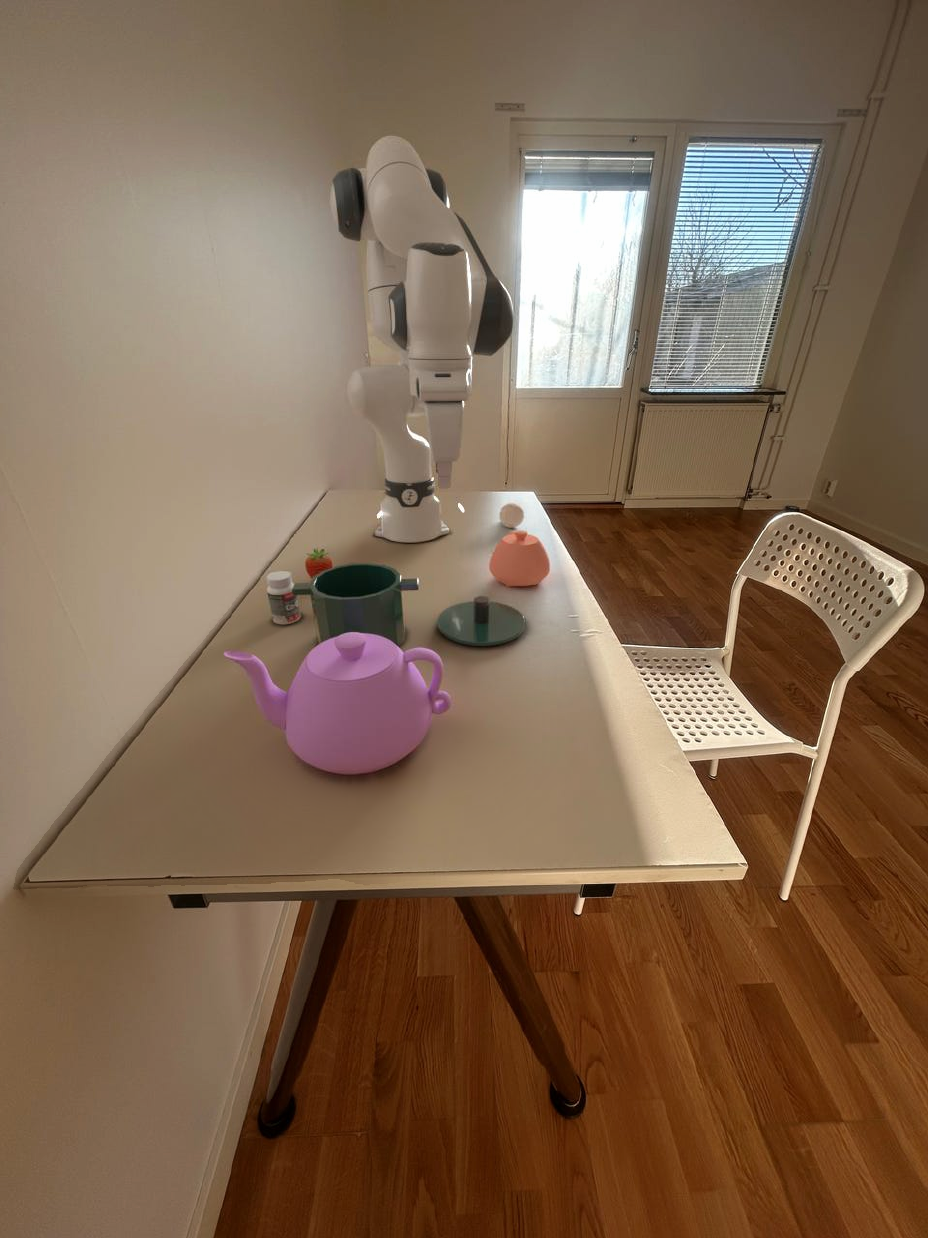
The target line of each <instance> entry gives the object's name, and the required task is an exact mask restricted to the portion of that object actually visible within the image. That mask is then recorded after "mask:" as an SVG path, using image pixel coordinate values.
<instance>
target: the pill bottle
mask: <svg viewBox="0 0 928 1238" xmlns="http://www.w3.org/2000/svg"><path fill="white" fill-rule="evenodd" d="M266 583H267V585H268V586H267V588H266V594H267V598H268V603H269V608H270V612H271V618H272V621H273V622H274V623H275V624H277V625H291V624H293V623H295V622H297V621H299V620H300V619H301V611H300V605H299V599H298V595H293V593H292V588H293V586H294V584H295V583H293V577H292V573H291V572H290V571H285V570H278V571H273V572H271V573H269V574H267V575H266Z"/></svg>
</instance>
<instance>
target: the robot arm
mask: <svg viewBox="0 0 928 1238" xmlns="http://www.w3.org/2000/svg"><path fill="white" fill-rule="evenodd" d="M444 179H445V178H443V176H442V175H441V173H440V172H439V171H435V170H433V169H430V168H426V167H425V165H424V163H423V161H422V159H421V158H420V155H419V154H418V152H417V151H416V149H415V148H414V146H413V145H412V144H411V143H410V142H409V141H408V140H406V139H405V138H403V137H401V136H398V135H386V136H383V137H381V138H380V139H378V140H377V141H376V142H375V143H374V144H373V145H372V146H371V148H370V150H369V151H368V155H367V157H366V163H365V167H361V168H356V167H349V168H348V167H347V168H346V169H342V170H339V171H338V172H336V174H335V175H334V177H333V178H332V185H331V187H330V191H329V192H330V193H329V206H330V212H331V215H332V219H333V221H334V223H335V225H336V227H337V230H338V232H339V234H341V236H342V237H343V238H344V239H347V240H350V241H355V242H361V241H366V242H367V243H366V266H365V267H366V269H365V270H366V284H367V285H366V286H367V294H368V295H367V297H368V304H369V313H370V322H371V330H372V332H373V334H374V336H375V337H376V339H377V340H379V342H380V343H382V344H383V345H385V346H387V347H389V348H390V349H392V350H393V351H394V352H395V354H396V355H397V357H398V360H399V362H400V364H377V365H376V364H374V365H370V366H365V367H362V368H357V369H355V370H354V371H353V372H352V373H351V375H350V376H349V377H348V378H349V379H348V381H347V382H348V383H347V386H346V395H347V400H348V403H349V406H350V407H351V409H352V411H354V413H355V414H356V415H357V416H358V417H360V418H361V419H363V420H364V422H366V423H367V424H369V426H370V427H371V428H372V429H373V430H374V432H375V434H376V435H377V437H378V439H379V442H380V445H381V448H382V453H383V459H384V460H383V461H384V467H385V478H384V491H385V492H384V493H385V494H386V495H385V498H384V499H383V500H382V501H381V502H380V511H379V512H378V514H376V516H377V519H379V518H380V520H381V521H380V522H381V523H380V525H378V527H377V528H376V530H375V531H374V535H375V536H376V537H381V538H385V539H387V540H389V541H392V542H396V543H405V544H406V543H409V544H410V543H423V542H428V541H431V540H435V539H436V538H438V537H440V536H444V535H447V534H449V533H450V528H448V526H447V525H446V524H445V523H444V521H443V520H442V507H441V505H442V504H441V501H440V500H439V499H438V498H437V497H436V495H435V478H434V477H433V471H432V461H433V462H434V469H435V473H436V474H437V485H438V488H439V489H442V490H443V489H444V490H446V489H447V490H448V489H450V488H451V487H452V486H451V485H452V469H453V462H458V461H459V458H460V454H461V447H462V439H463V425H464V424H463V423H464V412H465V403H464V402H468V400H469V397H470V396H471V395H472V392H473V390H472V389H473V388H472V385H473V384H472V381H473V377H472V375H473V364H472V363H473V356H474V355H475V356H485V357H493V355H494V354H496V353H497V352H498V351H499V350H501V348H503V347H504V345H505V344H506V343H507V342H508V341H509V339H510V337H511V336H512V332H513V328H514V306H513V302H512V299H511V298H512V297H511V296H510V294H509V292H508V290H507V288H506V287H505V286H504V284H503V283H502V282H501V280H499V279H498V278H497V277H496V275H495V274H494V273H493V270H492V269H491V267H490V266H489V263H488V262H487V260H486V258H485V256H484V254H483V252H482V250H481V248H480V247H479V244H478V242H477V241H476V239H475V236H474V235H473V234H472V231H471V230H470V228H469V226H468V224H467V223H466V222H465V220H464V219H463V218H462V217H461V216H460V215H459V214H457V212H455V211H453V210H452V209H451V208H450V200H449V199H450V198H449V194H448V191H447V187H446V186H447V185H446V182H445V180H444ZM418 417H425V420H426V428H427V436H428V441H429V442H428V441H427V440H426V439H425V437H423V436H421V435H419V434H417V433H415V432H413V431H411V430H410V427H409V425H408V420H407V419H408V418H418ZM458 508H459V509H460V511H461V512H462V513H465V509H464V507H463V505H462V504H461V503H458Z"/></svg>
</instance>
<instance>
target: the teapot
mask: <svg viewBox="0 0 928 1238" xmlns="http://www.w3.org/2000/svg"><path fill="white" fill-rule="evenodd" d="M223 655H224V657H226V658H227V659H229V660H231V661H232V662H234V663H236V664H237V665H239V666H240V667H241V668H242V669H243V670H244V671H245V673H246V674H247V676H248V678H249V680H250V683H251V686H252V690H253V693H254V699H255V702H256V705H257V707H258V710H259V712H260V714H261V715H262V716H263V718H264V719H265V720H266V721H267V722H268V723H269V724H271V725H272V726H274V727H276V728H278V729H279V730H282V731H283V732H284V733H285V739H286V742H287V745H288V747H290V749H291V750H292V752H293V753H294V754H295V755H296V756H297V757H298V758H299V759H300V760H302V761H303V762H304V763H306V764H308V765H310V766H312V767H315V768H316V769H318V770H322V771H325V772H328V773H333V774H337V775H346V776H347V775H349V776H350V775H351V776H354V775H355V776H356V775H363V774H369V773H374V772H377V771H380V770H383V769H386V768H388V767H391V766H393V765H394V764H397V763H398V762H399V761H401V760H402V759H404V758H405V757H407V756H408V755H409V754H410V753H411V752H413V751H414V750H415V749H416V748H417V747H418V746H419V745H420V743H422V741H423V740H424V738H425V737H426V736H427V734H428V731H429V729H430V727H431V724H432V720H433V714H434V715H442V714H444V713H446V712H448V711H449V710H450V708H451V705H452V697H451V695H450V694H449V693H448V692H447V691H444V690H440V688H441V684H442V681H443V676H444V663H443V660H442V658H441V657H440V655H439V654H438V653H437V652H435V651H434V650H432V649H430V648H427V647H414V648H410V649H408V650H405V651H404V652H403V650H402V649H401V648H400V646H399V647H398V646H396V645H395V644H394V643H393V642H392V641H390V640H389V639H387V638H384V637H382V636H379V635H374V634H366V633H358V632H349V633H344V634H342V635H339V636H337V637H334V638H331V639H329V640H326V641H324V642H322V643H321V644H319V643H318V645H316V646H315V647H314V648H312V649H311V650H310V651H309V652H308V654H307V655H306V657H305V658H304V659H303V661H302V663H301V665H300V666H299V668H298V670H297V672H296V674H295V677H294V678H293V680H292V682H291V684H290V687H289V690H288V691H285V690H283V689H281V688H279V687H278V686H277V685H276V684H275V683H274V682H273V680H272V678H271V676H270V674H269V671H268V669H267V667H266V666H265V664H264V662H263V661H262V660H261V659H260V658H258V657H257V656H255V655H254V654H252V653H248V652H244V651H240V650H239V651H238V650H227V651H224V652H223ZM415 661H426V662H429V663H431V664H432V665H433V675H432V679H431V681H430V685H429V688H428V686H427V684H426V682H425V680H424V678H423V676H422V674H421V673H420V671H419V670H418V668H417V667H416V665H415V664H414V663H413V662H415ZM439 700H442V701H439ZM437 701H439V702H437Z"/></svg>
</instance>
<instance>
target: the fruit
mask: <svg viewBox="0 0 928 1238" xmlns="http://www.w3.org/2000/svg"><path fill="white" fill-rule="evenodd" d="M328 554H329V552H327V553H325V548H322V549H320V551H319V550H318V548H316V549H315V548H313V553H307V552H306V555H307V556H308V557H307V558H306V559H305V561H304V562H305V563H304V564H305V565H304V566H305V570H306V573H307V574H308V576H309V578H310V579H312V578H313V577H314V576H316V575H317V574H319V573H320V572H322V571H325V570H327V569H330V568H333V567H334V565H333V561H332V559H331V558H330V557H329V556H328Z"/></svg>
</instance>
